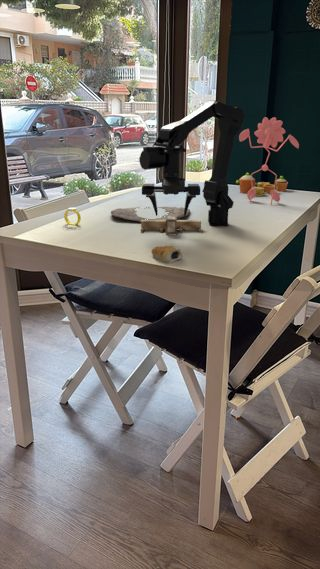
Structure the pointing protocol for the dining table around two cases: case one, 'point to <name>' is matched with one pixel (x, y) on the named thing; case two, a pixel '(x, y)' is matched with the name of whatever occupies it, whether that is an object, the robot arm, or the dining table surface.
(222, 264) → the dining table surface
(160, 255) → the pastry
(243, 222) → the dining table surface
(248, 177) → the toy tea set
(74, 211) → the gold ring
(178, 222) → the rail
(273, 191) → the figurine
